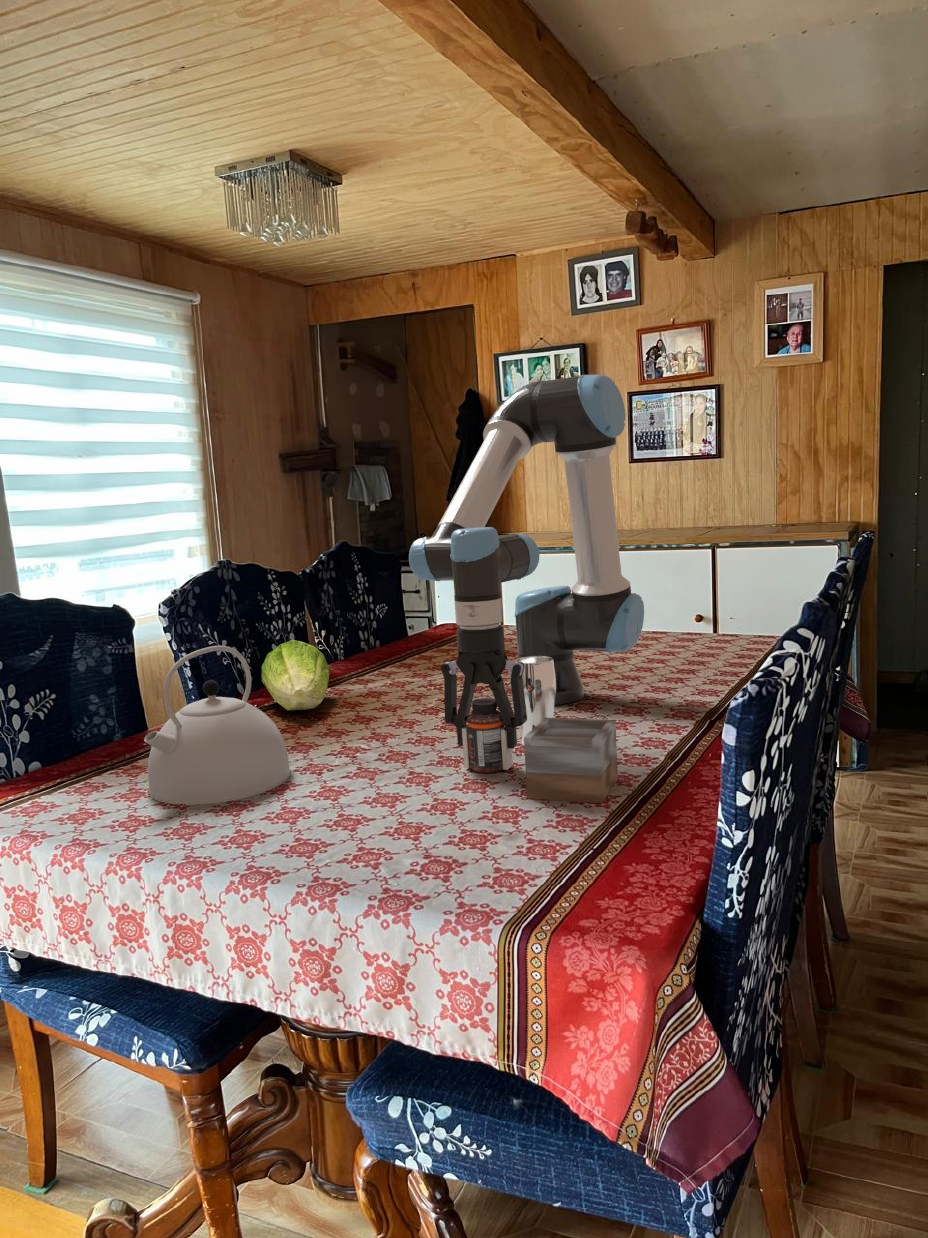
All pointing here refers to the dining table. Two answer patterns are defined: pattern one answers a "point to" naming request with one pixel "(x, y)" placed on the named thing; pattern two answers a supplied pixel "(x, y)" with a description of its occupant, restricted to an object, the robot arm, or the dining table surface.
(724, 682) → the dining table surface
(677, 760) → the dining table surface
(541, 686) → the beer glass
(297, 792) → the dining table surface
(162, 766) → the kettle
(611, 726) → the wooden box
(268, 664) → the lettuce
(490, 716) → the supplement bottle
